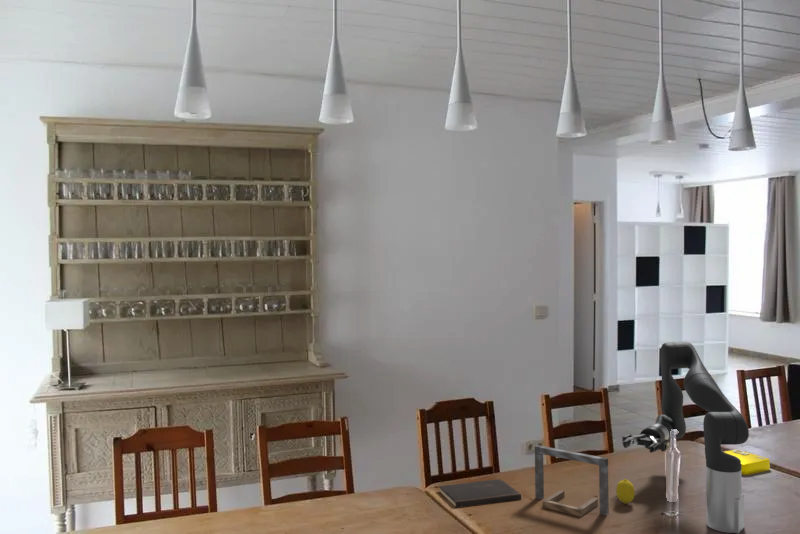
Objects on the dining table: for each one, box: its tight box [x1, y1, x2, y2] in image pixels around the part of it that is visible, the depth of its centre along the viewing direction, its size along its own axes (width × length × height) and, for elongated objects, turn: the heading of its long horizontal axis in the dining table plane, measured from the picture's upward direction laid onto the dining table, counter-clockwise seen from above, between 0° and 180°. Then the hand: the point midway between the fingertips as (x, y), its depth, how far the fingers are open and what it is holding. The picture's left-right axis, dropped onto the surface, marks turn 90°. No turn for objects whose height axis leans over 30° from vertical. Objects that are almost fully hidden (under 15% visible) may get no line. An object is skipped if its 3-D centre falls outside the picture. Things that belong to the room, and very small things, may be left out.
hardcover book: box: [438, 478, 522, 508], centre depth 217 cm, size 16×23×2 cm
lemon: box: [616, 478, 636, 505], centre depth 207 cm, size 6×6×8 cm
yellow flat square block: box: [724, 449, 771, 476], centre depth 243 cm, size 15×15×5 cm
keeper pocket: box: [534, 444, 610, 518], centre depth 206 cm, size 24×12×17 cm, turn 50°
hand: (637, 447), depth 216 cm, fingers open, 8 cm apart
